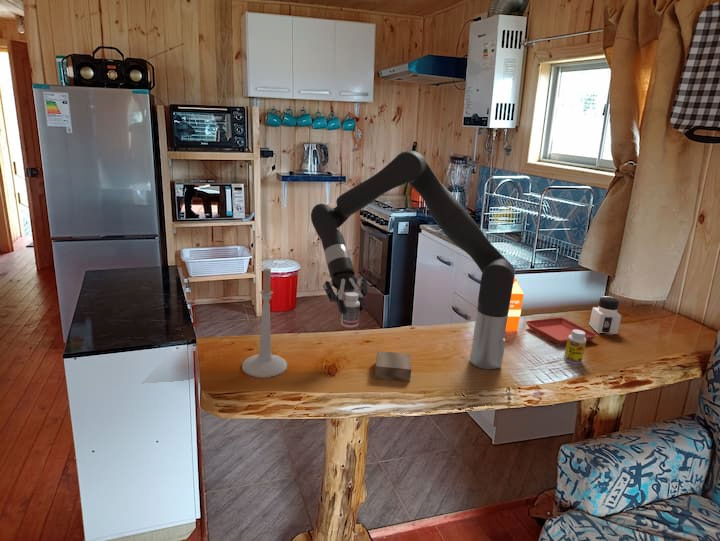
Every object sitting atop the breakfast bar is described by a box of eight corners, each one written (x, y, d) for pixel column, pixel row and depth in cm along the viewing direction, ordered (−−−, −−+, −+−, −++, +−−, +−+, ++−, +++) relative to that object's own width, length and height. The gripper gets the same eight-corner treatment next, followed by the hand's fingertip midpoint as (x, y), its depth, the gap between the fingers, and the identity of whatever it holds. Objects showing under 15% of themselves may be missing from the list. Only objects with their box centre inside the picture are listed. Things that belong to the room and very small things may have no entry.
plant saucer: (523, 328, 197) (524, 320, 196) (560, 324, 204) (561, 316, 203) (557, 349, 181) (559, 340, 180) (596, 343, 188) (598, 335, 187)
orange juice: (498, 332, 191) (506, 279, 185) (487, 322, 199) (495, 271, 193) (517, 331, 193) (526, 279, 187) (506, 322, 201) (515, 272, 195)
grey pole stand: (287, 377, 148) (291, 275, 139) (240, 377, 146) (241, 274, 137) (286, 356, 160) (290, 261, 151) (243, 356, 158) (244, 260, 149)
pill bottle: (361, 326, 159) (364, 295, 156) (346, 329, 156) (348, 298, 153) (352, 319, 163) (354, 289, 160) (337, 322, 160) (339, 292, 157)
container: (617, 335, 197) (625, 302, 193) (596, 333, 196) (604, 300, 193) (608, 327, 204) (615, 295, 200) (588, 325, 204) (595, 293, 200)
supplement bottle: (564, 362, 170) (570, 333, 167) (563, 355, 176) (569, 327, 173) (582, 365, 169) (588, 336, 166) (581, 358, 174) (587, 330, 171)
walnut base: (408, 365, 160) (410, 353, 159) (409, 382, 150) (411, 369, 149) (375, 362, 160) (377, 350, 159) (374, 378, 151) (376, 366, 149)
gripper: (321, 257, 157) (335, 309, 150) (364, 254, 163) (379, 304, 157) (313, 269, 163) (327, 319, 156) (355, 266, 169) (369, 314, 163)
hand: (353, 311), depth 156 cm, fingers closed on pill bottle, 5 cm apart
